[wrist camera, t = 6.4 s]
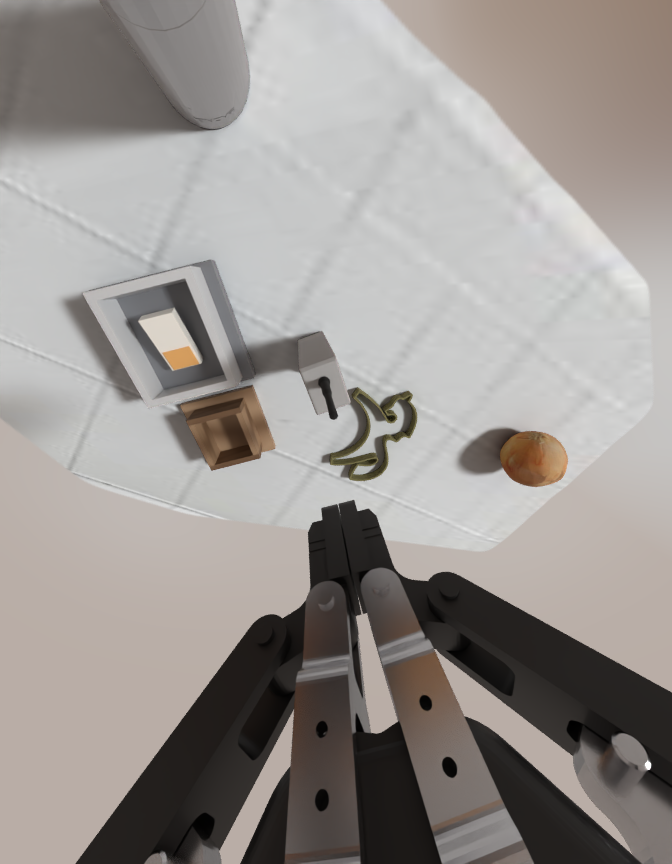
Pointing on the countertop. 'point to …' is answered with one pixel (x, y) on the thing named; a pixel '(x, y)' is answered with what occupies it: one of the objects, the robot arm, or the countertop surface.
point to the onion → (534, 459)
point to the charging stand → (229, 427)
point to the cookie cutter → (371, 457)
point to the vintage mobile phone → (322, 375)
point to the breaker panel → (203, 318)
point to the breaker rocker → (171, 338)
